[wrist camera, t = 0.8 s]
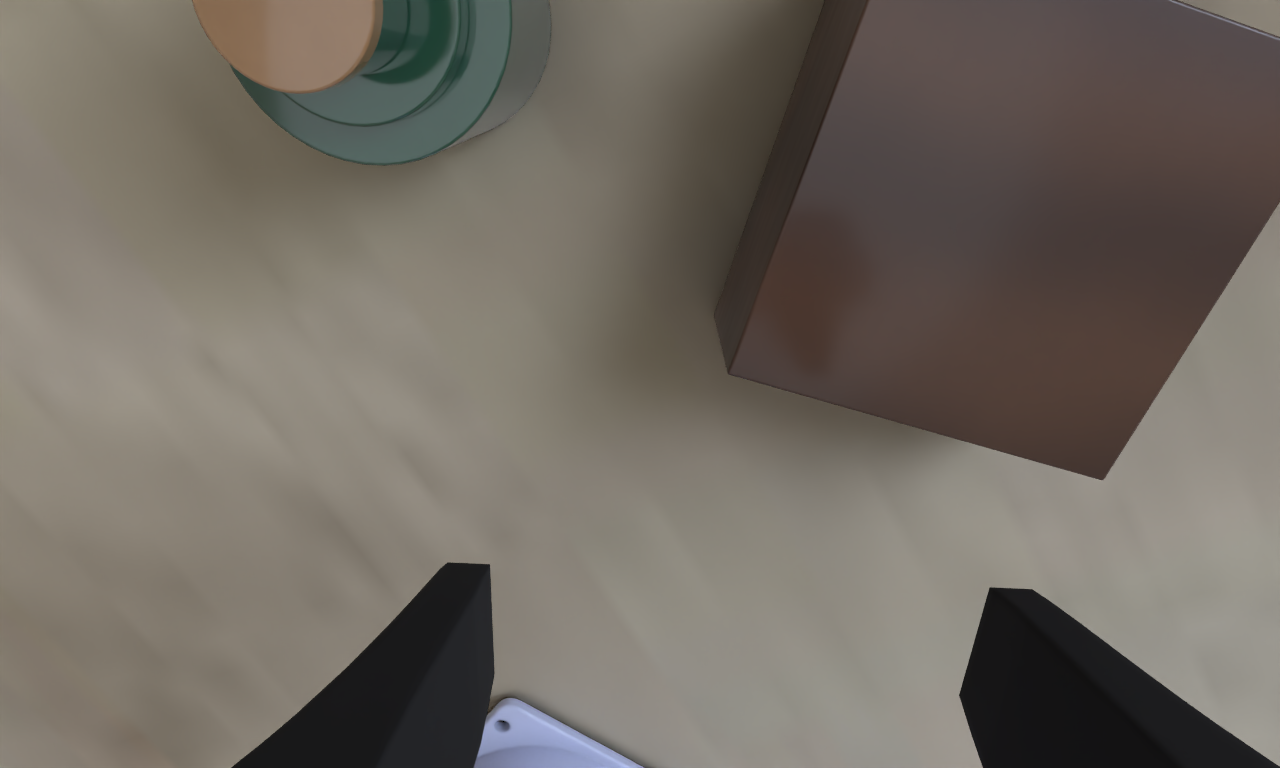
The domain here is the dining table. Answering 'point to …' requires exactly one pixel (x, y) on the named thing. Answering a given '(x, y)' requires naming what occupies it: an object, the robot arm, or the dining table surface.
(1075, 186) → the block
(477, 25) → the bottle
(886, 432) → the dining table surface
